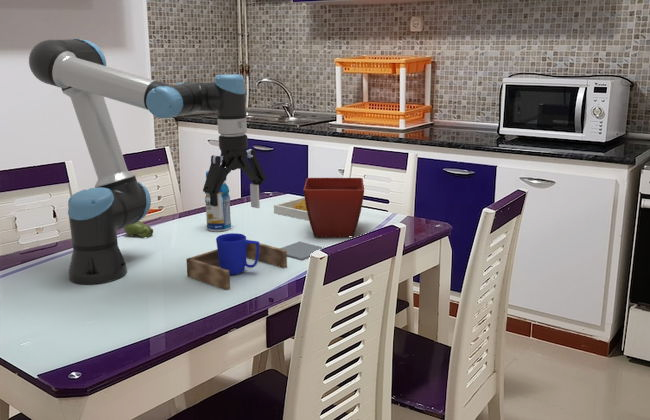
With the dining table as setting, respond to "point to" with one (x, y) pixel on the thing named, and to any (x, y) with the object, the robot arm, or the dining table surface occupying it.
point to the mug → (234, 252)
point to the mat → (300, 250)
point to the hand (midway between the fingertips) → (237, 212)
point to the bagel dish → (291, 209)
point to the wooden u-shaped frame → (211, 273)
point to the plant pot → (334, 205)
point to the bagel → (300, 205)
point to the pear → (139, 229)
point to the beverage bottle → (225, 221)
